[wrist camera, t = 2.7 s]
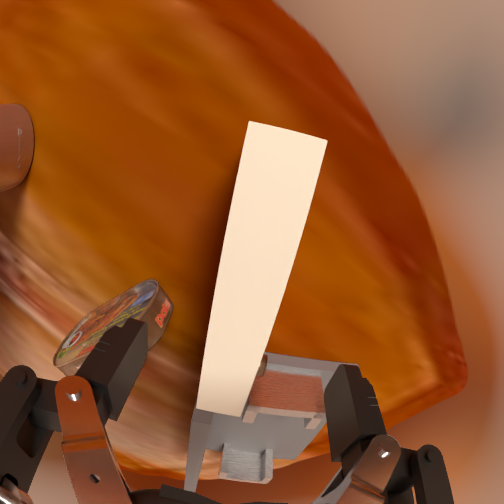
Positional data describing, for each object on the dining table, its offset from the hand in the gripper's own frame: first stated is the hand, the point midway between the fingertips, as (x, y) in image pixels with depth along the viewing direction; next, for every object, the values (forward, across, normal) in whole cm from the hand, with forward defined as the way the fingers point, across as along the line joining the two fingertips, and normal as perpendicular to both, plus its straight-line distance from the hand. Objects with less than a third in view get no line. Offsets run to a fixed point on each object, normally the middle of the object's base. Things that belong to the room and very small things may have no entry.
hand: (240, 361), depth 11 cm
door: (+13, 0, 0) cm, 13 cm away
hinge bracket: (+13, -6, +22) cm, 26 cm away
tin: (+13, +11, +10) cm, 20 cm away
